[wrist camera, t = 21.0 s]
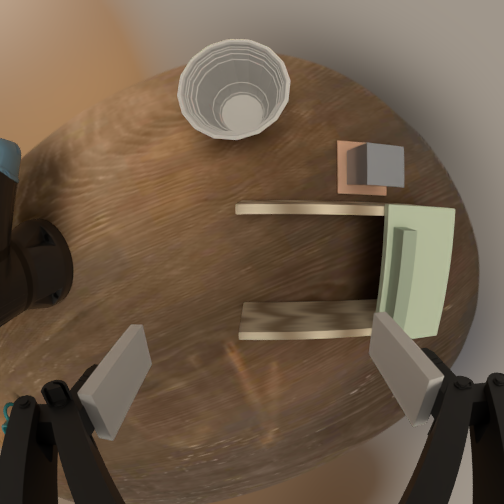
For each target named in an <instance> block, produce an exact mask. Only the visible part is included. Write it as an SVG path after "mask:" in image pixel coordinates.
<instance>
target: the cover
mask: <svg viewBox="0 0 504 504" xmlns="http://www.w3.org/2000/svg"><path fill="white" fill-rule="evenodd" d="M454 220H455V209H453V208H443V207H430V206H415V205H399V204H385V219H384V237H383V251H382V263H381V273H380V283H379V291H378V299H377V306H376V313H378V312H387V314H388V315H389V316H390V317H391V318H392V319H393V320H394V321H395V322H396V323H397V324H398V325H399V326H400V327H401V328H402V329H403V331H404V332H405V333H406V334H407V335H408V336H409V337H410V338H411V339H414V338H421V337H428V336H435V335H437V331H438V327H439V322H440V318H441V313H442V309H443V304H444V299H445V293H446V288H447V282H448V275H449V268H450V261H451V253H452V244H453V233H454Z"/></svg>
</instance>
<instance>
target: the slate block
mask: <svg viewBox="0 0 504 504" xmlns="http://www.w3.org/2000/svg"><path fill="white" fill-rule="evenodd" d="M347 185H363V186H378V187H404V147H400V146H392V145H384V144H375V143H365V144H362V145H360V146H357V147H355V148H352V149H350V150H347Z"/></svg>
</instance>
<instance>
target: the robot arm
mask: <svg viewBox="0 0 504 504" xmlns="http://www.w3.org/2000/svg"><path fill="white" fill-rule="evenodd" d="M20 160H21V150H20V148H19V146H18V145H17V144H16V143H14V142H11V141H8V140H5V139H2V138H0V327H1V326H2V325H4V324H5V323H7V322H8V321H10V320H11V319H13V318H14V317H16V316H17V315H19V314H20V313H22V312H23V311H25V310H27V309H37V308H47V307H51V306H53V305H55V304H57V303H58V302H60V301H61V300H63V299H64V298H65V297H66V295H67V294H68V292H69V290H70V287H71V284H72V277H73V267H72V259H71V255H70V252H69V249H68V246H67V244H66V242H65V240H64V238H63V236H62V235H61V233H60V232H59V231H58V229H57V228H56V227H55V226H54V225H52V224H51V223H50V222H48V221H46V220H43V219H32V220H27V221H24V222H22V223H21V224H19V225H18V226H17V227H15V228H14V229H13V230H12V220H13V211H14V203H15V195H16V189H17V183H19V178H18V174H19V167H20ZM11 230H12V231H11ZM369 355H370V357H371V358H372V360H373V361H374V363H375V365H376V366H377V368H378V370H379V371H380V373H381V374H382V376H383V378H384V379H385V381H386V383H387V384H388V386H389V388H390V389H391V391H392V393H393V394H394V396H395V398H396V399H397V401H398V403H399V404H400V406H401V408H402V410H403V411H404V413H405V415H406V416H407V418H408V420H409V422H410V423H411V425H412V427H416V426H418V425H422V424H425V423H427V421H428V419H429V416H430V414H432V416H433V417H434V421H433V423H432V426H431V428H430V430H429V432H428V438H427V441H426V443H425V446H424V449H423V451H422V453H421V456H420V458H419V461H418V463H417V466H416V468H415V470H414V473H413V475H412V477H411V479H410V481H409V483H408V486H407V488H406V490H405V492H404V494H403V496H402V498H401V500H400V502H399V503H398V504H448V502H449V499H450V496H451V493H452V490H453V487H454V484H455V481H456V477H457V474H458V471H459V466H460V463H461V459H462V455H463V451H464V447H465V443H466V438H467V433H468V428H469V429H470V439H471V449H472V468H473V504H504V374H502V373H492V374H490V375H489V377H488V378H487V381H486V383H479V384H474V383H473V381H472V380H471V379H469V378H467V377H464V376H455V374H454V373H453V372H452V371H451V370H450V369H449V368H448V367H447V366H446V365H445V364H444V363H443V361H442V360H441V359H440V358H439V357H438V356H437V355H436V354H435V353H434V352H433V351H431V350H429V349H427V348H422V349H420V348H419V347H418V346H417V345H416V344H415V342H414V341H413V340H412V339H411V338H410V337H409V336H408V335H407V334H406V333H405V332H404V331H403V329H402V328H401V327H400V326H399V325H398V324H397V323H396V322H395V321H394V320H393V319H392V318H391V317H390V316H389V315H388V314H387V312H378V313H374V316H373V325H372V333H371V341H370V348H369ZM151 365H152V362H151V358H150V354H149V350H148V346H147V342H146V337H145V333H144V328H143V325H135V324H131V325H130V326H129V327H128V329H127V330H126V331H125V332H124V334H123V335H122V336H121V337H120V338H119V340H118V341H117V342H116V343H115V345H114V346H113V347H112V349H111V350H110V351H109V352H108V354H107V355H106V356H105V357H104V359H103V360H102V361H101V363H100V364H99V365H95V364H94V365H93V366H91V367H90V368H88V369H87V370H86V371H85V372H84V374H83V375H82V376H81V377H80V379H79V381H77V382H76V384H75V385H74V386H73V387H72V389H71V390H70V391H69V388H68V386H67V384H66V383H65V382H64V381H62V380H54V381H51V382H48V383H47V384H45V385H44V386H43V387H42V390H41V393H42V395H43V397H44V399H45V401H46V403H47V404H37V402H36V400H35V398H34V397H32V396H28V395H26V396H22V397H19V398H18V399H17V400H16V401H15V402H14V404H13V407H12V411H11V414H10V418H9V421H8V425H7V429H6V433H5V437H4V441H3V446H2V450H1V455H0V504H58V490H57V458H58V452H59V456H60V460H61V463H62V467H63V470H64V473H65V476H66V479H67V482H68V485H69V488H70V491H71V494H72V496H73V499H74V502H75V504H125V502H124V500H123V499H122V497H121V495H120V493H119V491H118V489H117V488H116V486H115V484H114V482H113V480H112V478H111V476H110V474H109V472H108V470H107V468H106V466H105V463H104V461H103V459H102V457H101V455H100V452H99V450H98V448H97V446H96V443H95V441H94V439H93V437H92V433H93V431H94V429H95V431H96V433H97V435H98V437H99V438H103V439H107V440H112V441H113V440H114V438H115V436H116V434H117V432H118V430H119V428H120V426H121V424H122V422H123V420H124V418H125V416H126V414H127V412H128V410H129V408H130V406H131V404H132V402H133V400H134V398H135V396H136V394H137V392H138V390H139V388H140V386H141V384H142V383H143V381H144V379H145V377H146V375H147V373H148V371H149V369H150V367H151Z"/></svg>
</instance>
